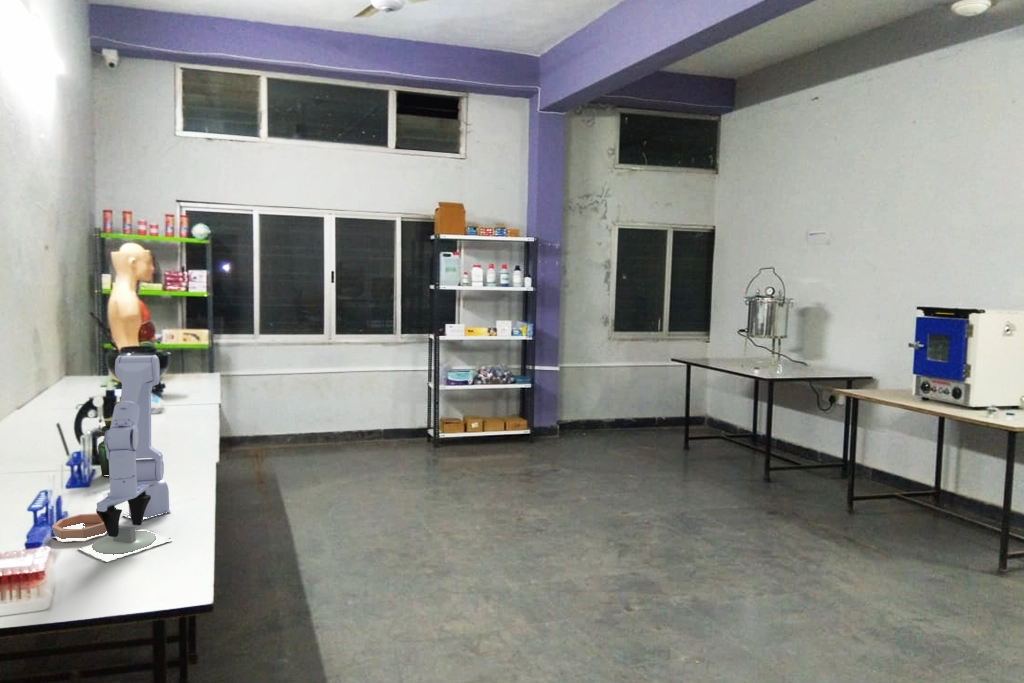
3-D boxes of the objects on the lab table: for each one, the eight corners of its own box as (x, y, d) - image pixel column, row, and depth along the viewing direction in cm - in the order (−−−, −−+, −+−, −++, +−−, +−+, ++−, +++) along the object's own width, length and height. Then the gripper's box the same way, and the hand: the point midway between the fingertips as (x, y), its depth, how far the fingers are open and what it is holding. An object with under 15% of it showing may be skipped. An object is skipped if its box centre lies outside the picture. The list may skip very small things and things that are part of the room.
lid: (122, 530, 181) (121, 515, 181) (168, 536, 178) (167, 520, 178) (78, 551, 168) (77, 534, 168) (127, 557, 165) (126, 540, 165)
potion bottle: (101, 479, 224) (99, 423, 223) (96, 473, 231) (94, 418, 229) (130, 474, 230) (128, 420, 228) (124, 469, 236) (122, 415, 234)
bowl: (94, 521, 189) (94, 510, 188) (119, 531, 182) (118, 519, 182) (45, 535, 179) (44, 523, 178) (69, 546, 172) (68, 534, 172)
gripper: (131, 466, 179) (133, 518, 181) (84, 483, 165) (87, 539, 167) (155, 468, 178) (157, 521, 179) (110, 486, 164) (112, 542, 165)
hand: (125, 530), depth 173 cm, fingers open, 7 cm apart
